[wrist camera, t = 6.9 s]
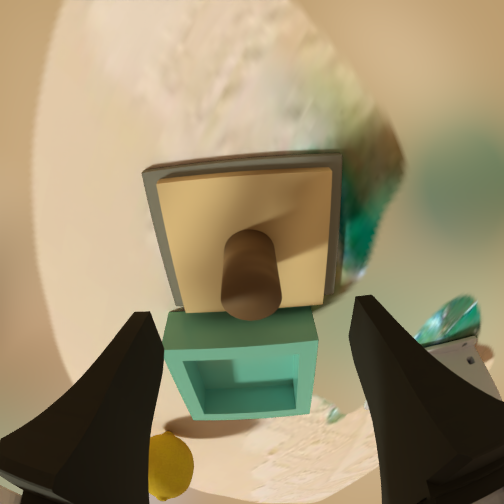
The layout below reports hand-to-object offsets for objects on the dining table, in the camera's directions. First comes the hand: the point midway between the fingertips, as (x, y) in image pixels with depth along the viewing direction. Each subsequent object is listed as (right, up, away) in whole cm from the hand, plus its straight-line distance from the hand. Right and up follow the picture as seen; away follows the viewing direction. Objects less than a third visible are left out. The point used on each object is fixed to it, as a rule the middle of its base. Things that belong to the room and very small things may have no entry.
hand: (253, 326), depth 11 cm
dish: (-1, -4, +10) cm, 11 cm away
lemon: (-9, -16, +17) cm, 25 cm away
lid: (0, +3, +5) cm, 6 cm away
